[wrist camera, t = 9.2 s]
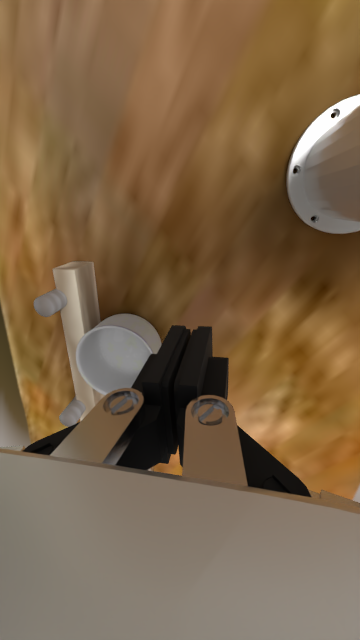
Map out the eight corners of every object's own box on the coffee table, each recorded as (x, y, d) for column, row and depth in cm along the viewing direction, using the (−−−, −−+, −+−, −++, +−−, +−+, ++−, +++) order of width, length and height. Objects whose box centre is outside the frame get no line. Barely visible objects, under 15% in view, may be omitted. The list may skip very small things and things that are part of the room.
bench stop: (93, 262, 38) (60, 275, 31) (111, 406, 48) (89, 442, 41) (65, 260, 38) (26, 274, 31) (88, 403, 49) (63, 438, 42)
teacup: (88, 321, 42) (58, 346, 35) (146, 293, 38) (125, 314, 31) (134, 389, 46) (116, 425, 38) (190, 370, 42) (181, 404, 35)
